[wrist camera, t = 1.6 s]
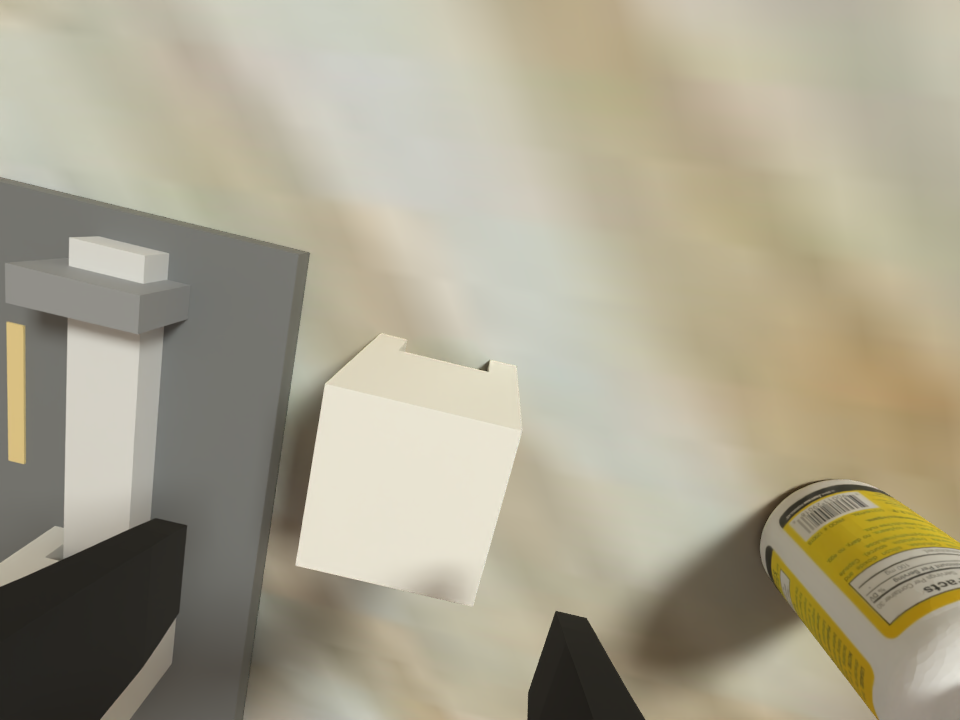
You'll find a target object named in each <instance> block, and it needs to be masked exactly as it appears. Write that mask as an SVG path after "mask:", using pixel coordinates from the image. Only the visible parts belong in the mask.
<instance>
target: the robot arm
mask: <svg viewBox="0 0 960 720" xmlns="http://www.w3.org/2000/svg"><path fill="white" fill-rule="evenodd" d="M186 534H187V525H184V524H180V523H176V522H171V521H167V520H163V519H158V518H154V519H152V520H150V521H147V522H145V523H142V524H140V525H138V526H135V527H133V528H131V529H129V530H126V531H124V532H122V533H120V534H118V535H115V536H113V537H111V538H109V539H107V540H104V541H102V542H100V543H98V544H96V545H94V546H91V547H89V548H87V549H85V550H83V551H80V552H78V553H76V554H74V555H72V556H69V557H67V558H65V559H63V560H60V561H58V562H56V563H54V564H51V565H49V566H47V567H45V568H43V569H40V570H38V571H36V572H34V573H31V574H29V575H27V576H25V577H22V578H20V579H18V580H15V581H13V582H10V583H8V584H6V585H3V586H1V587H0V720H100V719H101V718H102V717H103V716H104V714H105V713H106V712H107V711H108V710H109V708H110V707H111V706H112V705H113V703H114V702H115V701H116V700H117V699H118V697H119V696H120V695H121V694H122V692H123V691H124V690H125V689H126V688H127V686H128V685H129V684H130V683H131V682H132V680H133V679H134V678H135V677H136V675H137V674H138V673H139V672H140V670H141V669H142V668H143V667H144V665H145V664H146V662H147V661H148V659H149V658H150V656H151V655H152V653H153V652H154V650H155V649H156V647H157V646H158V645H159V643H160V642H161V640H162V639H163V637H164V635H165V634H166V632H167V631H168V629H169V628H170V626H171V625H172V623H173V621H174V620H175V618H176V617H177V615H178V614H179V609H180V599H181V588H182V577H183V566H184V556H185V545H186ZM528 720H645V718H644V717H643V715H642V713H641V712H640V710H639V709H638V707H637V705H636V704H635V702H634V700H633V699H632V697H631V695H630V693H629V692H628V690H627V688H626V687H625V685H624V683H623V681H622V680H621V678H620V676H619V674H618V673H617V671H616V669H615V667H614V666H613V664H612V662H611V660H610V659H609V657H608V655H607V653H606V651H605V650H604V648H603V646H602V644H601V643H600V641H599V639H598V637H597V635H596V634H595V632H594V630H593V628H592V627H591V625H590V623H589V622H588V620H587V618H584V617H579V616H575V615H571V614H567V613H562V612H558V611H556V612H555V615H554V618H553V621H552V624H551V627H550V630H549V632H548V635H547V638H546V641H545V644H544V647H543V650H542V653H541V656H540V659H539V662H538V665H537V668H536V671H535V674H534V677H533V680H532V683H531V686H530V689H529V692H528Z"/></svg>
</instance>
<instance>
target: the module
mask: <svg viewBox="0 0 960 720" xmlns="http://www.w3.org/2000/svg"><path fill="white" fill-rule="evenodd" d="M406 344H407V339H403V338H398V337H394V336H390V335H386V334H382V333H380V334H379V335H378V336H377V337H376V338H375V339H374V340H373V341H372V342H370V343H369V344H368V345H367V346H366V347H365V348H364V349H363V350H362V351H361V352H359V353H358V354H357V355H356V356H355V357H354V358H353V359H352V360H351V361H350V362H348V363H347V364H346V365H345V366H344V367H343V368H342V369H341V370H340V371H338V372H337V373H336V374H335V375H334V376H333V377H332V378H331V379H330V380H329V381H327V382H326V383H325V387H324V393H323V399H322V405H321V412H320V418H319V424H318V430H317V436H316V442H315V448H314V455H313V461H312V467H311V473H310V479H309V485H308V491H307V497H306V504H305V510H304V516H303V522H302V528H301V534H300V540H299V547H298V553H297V559H296V565H295V566H299V567H304V568H308V569H312V570H317V571H321V572H325V573H330V574H334V575H338V576H343V577H347V578H351V579H355V580H360V581H364V582H368V583H373V584H377V585H381V586H386V587H390V588H394V589H398V590H403V591H407V592H411V593H416V594H420V595H424V596H429V597H433V598H437V599H442V600H446V601H450V602H454V603H459V604H463V605H467V606H472V607H473V605H474V601H475V597H476V594H477V590H478V587H479V583H480V580H481V576H482V573H483V569H484V565H485V562H486V558H487V555H488V551H489V548H490V544H491V541H492V537H493V533H494V530H495V526H496V523H497V519H498V516H499V512H500V509H501V505H502V501H503V498H504V494H505V491H506V487H507V484H508V480H509V477H510V473H511V470H512V466H513V462H514V459H515V455H516V452H517V448H518V445H519V441H520V438H521V434H522V421H521V410H520V399H519V387H518V376H517V366H514V365H510V364H506V363H502V362H498V361H494V360H490V362H489V366H488V370H487V372H486V371H482V370H478V369H474V368H470V367H466V366H462V365H457V364H453V363H449V362H445V361H441V360H437V359H433V358H428V357H424V356H420V355H416V354H412V353H408V352H405V349H406Z"/></svg>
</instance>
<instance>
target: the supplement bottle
mask: <svg viewBox="0 0 960 720" xmlns="http://www.w3.org/2000/svg"><path fill="white" fill-rule="evenodd" d="M760 554H761V560H762V564H763V566H764V569H765V571H766V573H767V575H768V576H769V578H770V579H771V581H772V582H773V583H774V585H775V586H776V588H777V589H778V590H779V591H780V593H781V594H782V596H783V597H784V598H785V600H786V601H787V602H788V603H789V605H790V606H791V607H792V609H793V610H794V611H795V612H796V614H797V615H798V616H799V617H800V619H801V620H802V621H803V623H804V624H805V625H806V627H807V628H808V629H809V631H810V632H811V633H812V635H813V636H814V637H815V638H816V640H817V641H818V642H819V644H820V645H821V646H822V647H823V649H824V650H825V651H826V653H827V654H828V655H829V657H830V658H831V659H832V661H833V662H834V663H835V664H836V666H837V667H838V668H839V670H840V671H841V672H842V674H843V675H844V676H845V677H846V679H847V680H848V681H849V683H850V684H851V685H852V687H853V688H854V689H855V691H856V692H857V693H858V695H859V696H860V697H861V698H862V700H863V701H864V702H865V704H866V705H867V706H868V708H869V709H870V710H871V712H872V713H873V714H874V715H875V717H876V718H877V719H878V720H960V543H959V542H957V541H956V540H954V539H953V538H952V537H950V536H949V535H947V534H946V533H944V532H943V531H941V530H940V529H938V528H937V527H936V526H934V525H933V524H931V523H930V522H928V521H927V520H925V519H924V518H922V517H921V516H919V515H918V514H916V513H915V512H914V511H912V510H911V509H909V508H908V507H906V506H905V505H903V504H902V503H900V502H899V501H897V500H896V499H894V498H893V497H891V496H890V495H888V494H886V493H885V492H883V491H882V490H880V489H878V488H876V487H874V486H871V485H869V484H866V483H863V482H859V481H853V480H845V479H835V480H826V481H821V482H817V483H813V484H811V485H808V486H806V487H804V488H801V489H799V490H797V491H795V492H794V493H792V494H791V495H789V496H788V497H787V498H785V499H784V500H783V501H782V502H781V503H780V504H779V505H778V506H777V507H776V508H775V509H774V511H773V512H772V513H771V515H770V516H769V518H768V520H767V522H766V524H765V526H764V529H763V532H762V536H761V541H760Z"/></svg>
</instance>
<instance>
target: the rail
mask: <svg viewBox="0 0 960 720" xmlns="http://www.w3.org/2000/svg"><path fill="white" fill-rule="evenodd" d="M309 255H310V253H309V252H305V251H301V250H297V249H293V248H289V247H284V246H280V245H276V244H272V243H268V242H264V241H260V240H256V239H252V238H248V237H243V236H239V235H235V234H231V233H227V232H223V231H219V230H215V229H211V228H207V227H202V226H198V225H194V224H190V223H186V222H182V221H178V220H174V219H170V218H166V217H161V216H157V215H153V214H149V213H145V212H141V211H137V210H133V209H129V208H125V207H120V206H116V205H112V204H108V203H104V202H100V201H96V200H92V199H88V198H84V197H79V196H75V195H71V194H67V193H63V192H59V191H55V190H51V189H47V188H43V187H38V186H34V185H30V184H26V183H22V182H18V181H14V180H10V179H6V178H2V177H0V587H1V586H3V585H6V584H8V583H10V582H13V581H15V580H18V579H20V578H22V577H25V576H27V575H29V574H31V573H34V572H36V571H38V570H40V569H43V568H45V567H47V566H49V565H51V564H54V563H56V562H58V561H60V560H63V559H65V558H67V557H69V556H72V555H74V554H76V553H78V552H80V551H83V550H85V549H87V548H89V547H91V546H94V545H96V544H98V543H100V542H102V541H104V540H107V539H109V538H111V537H113V536H115V535H118V534H120V533H122V532H124V531H126V530H129V529H131V528H133V527H135V526H138V525H140V524H142V523H145V522H147V521H150V520H152V519H154V518H158V519H163V520H167V521H171V522H176V523H180V524H184V525H187V534H186V545H185V556H184V566H183V577H182V588H181V599H180V609H179V614H178V615H177V617H176V618H175V620H174V621H173V623H172V625H171V626H170V628H169V629H168V631H167V632H166V634H165V635H164V637H163V639H162V640H161V642H160V643H159V645H158V646H157V647H156V649H155V650H154V652H153V653H152V655H151V656H150V658H149V659H148V661H147V662H146V664H145V665H144V667H143V668H142V669H141V670H140V672H139V673H138V674H137V675H136V677H135V678H134V679H133V680H132V682H131V683H130V684H129V685H128V686H127V688H126V689H125V690H124V691H123V692H122V694H121V695H120V696H119V697H118V699H117V700H116V701H115V702H114V703H113V705H112V706H111V707H110V708H109V710H108V711H107V712H106V713H105V714H104V716H103V717H102V718H101V719H100V720H243V713H244V706H245V699H246V692H247V685H248V678H249V671H250V664H251V657H252V650H253V643H254V637H255V630H256V623H257V616H258V609H259V602H260V595H261V588H262V581H263V574H264V567H265V560H266V553H267V546H268V539H269V533H270V526H271V519H272V512H273V505H274V498H275V491H276V484H277V477H278V470H279V463H280V456H281V449H282V442H283V435H284V429H285V422H286V415H287V408H288V401H289V394H290V387H291V380H292V373H293V366H294V359H295V352H296V345H297V338H298V331H299V325H300V318H301V311H302V304H303V297H304V290H305V283H306V276H307V269H308V262H309Z"/></svg>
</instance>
